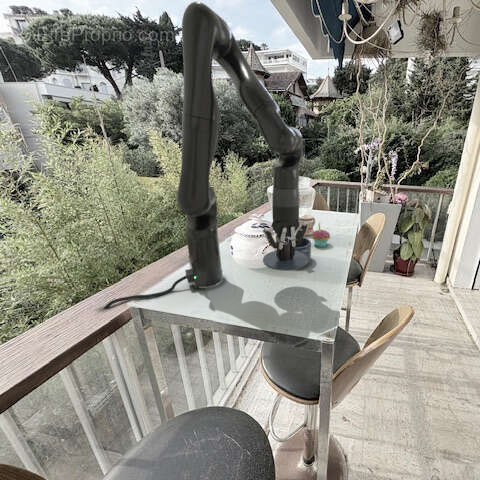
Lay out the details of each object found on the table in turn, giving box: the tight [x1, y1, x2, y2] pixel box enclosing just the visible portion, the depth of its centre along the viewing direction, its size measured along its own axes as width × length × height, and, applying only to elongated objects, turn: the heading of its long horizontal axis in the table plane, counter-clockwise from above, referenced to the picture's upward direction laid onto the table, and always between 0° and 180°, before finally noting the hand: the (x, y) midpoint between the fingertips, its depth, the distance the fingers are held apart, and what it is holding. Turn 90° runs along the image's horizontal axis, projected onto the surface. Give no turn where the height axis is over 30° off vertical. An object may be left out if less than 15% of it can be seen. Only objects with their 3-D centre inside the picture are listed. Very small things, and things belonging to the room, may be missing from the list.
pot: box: [285, 236, 312, 267], centre depth 106 cm, size 13×18×8 cm
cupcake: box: [311, 222, 331, 248], centre depth 122 cm, size 9×8×12 cm
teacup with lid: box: [295, 213, 316, 237], centre depth 138 cm, size 12×9×12 cm
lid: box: [262, 242, 308, 272], centre depth 80 cm, size 14×14×6 cm
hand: (285, 258), depth 81 cm, fingers closed on lid, 3 cm apart
